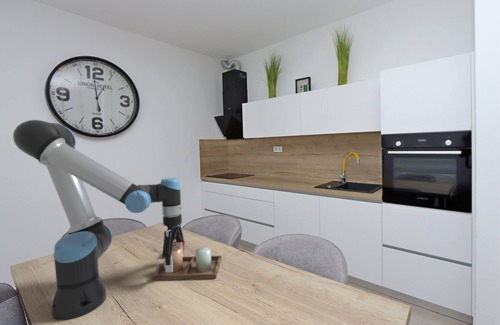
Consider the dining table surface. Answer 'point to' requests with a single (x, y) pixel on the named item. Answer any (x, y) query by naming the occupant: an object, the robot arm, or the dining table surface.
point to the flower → (182, 244)
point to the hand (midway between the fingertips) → (174, 264)
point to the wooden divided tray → (188, 270)
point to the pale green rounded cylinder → (203, 259)
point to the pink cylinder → (177, 259)
